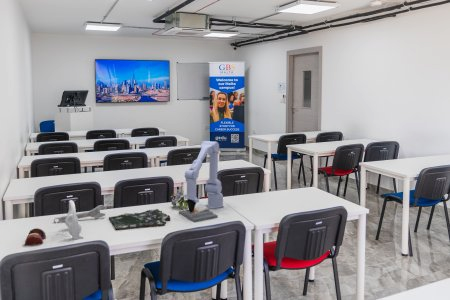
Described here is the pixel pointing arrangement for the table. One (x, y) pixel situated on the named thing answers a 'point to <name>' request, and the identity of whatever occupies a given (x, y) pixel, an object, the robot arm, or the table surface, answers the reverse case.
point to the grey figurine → (73, 222)
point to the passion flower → (178, 198)
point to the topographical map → (139, 220)
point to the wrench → (86, 214)
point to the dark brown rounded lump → (35, 237)
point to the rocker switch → (198, 209)
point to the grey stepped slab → (198, 215)
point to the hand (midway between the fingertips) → (191, 211)
